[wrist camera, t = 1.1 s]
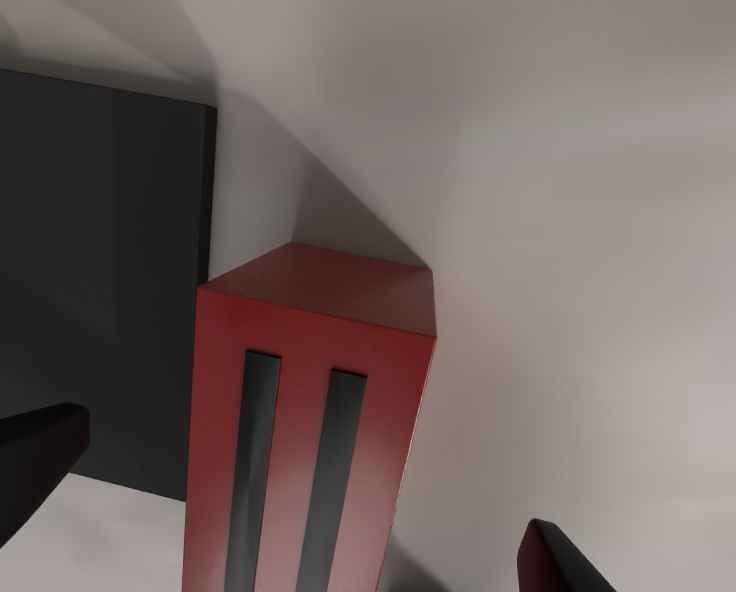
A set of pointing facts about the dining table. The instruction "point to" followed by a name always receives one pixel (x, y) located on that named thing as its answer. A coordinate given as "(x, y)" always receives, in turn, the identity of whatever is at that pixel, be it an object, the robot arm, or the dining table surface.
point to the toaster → (302, 419)
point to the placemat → (104, 267)
